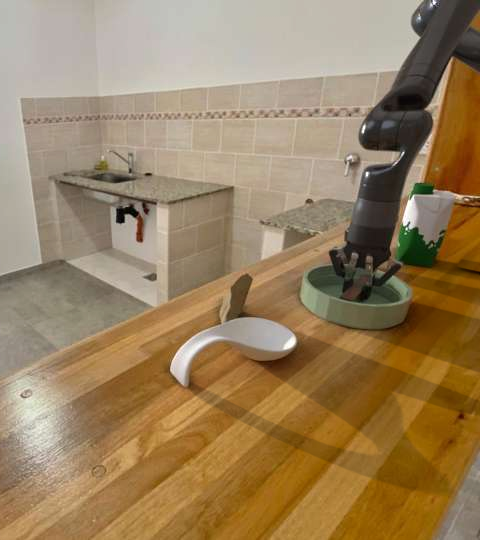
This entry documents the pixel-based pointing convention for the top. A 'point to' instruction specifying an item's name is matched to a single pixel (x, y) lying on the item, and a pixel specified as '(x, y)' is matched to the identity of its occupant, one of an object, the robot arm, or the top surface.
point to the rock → (235, 299)
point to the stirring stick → (354, 290)
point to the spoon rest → (237, 343)
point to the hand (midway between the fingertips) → (355, 297)
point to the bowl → (351, 313)
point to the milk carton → (424, 224)
